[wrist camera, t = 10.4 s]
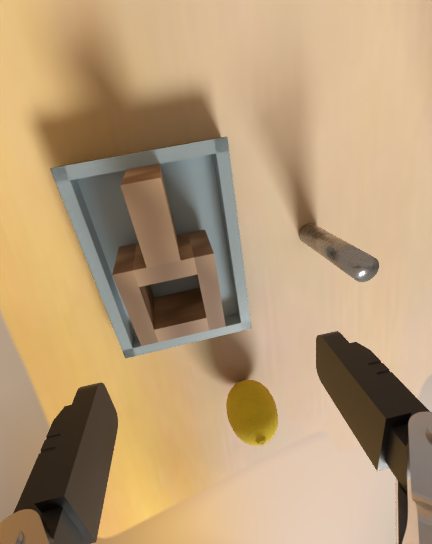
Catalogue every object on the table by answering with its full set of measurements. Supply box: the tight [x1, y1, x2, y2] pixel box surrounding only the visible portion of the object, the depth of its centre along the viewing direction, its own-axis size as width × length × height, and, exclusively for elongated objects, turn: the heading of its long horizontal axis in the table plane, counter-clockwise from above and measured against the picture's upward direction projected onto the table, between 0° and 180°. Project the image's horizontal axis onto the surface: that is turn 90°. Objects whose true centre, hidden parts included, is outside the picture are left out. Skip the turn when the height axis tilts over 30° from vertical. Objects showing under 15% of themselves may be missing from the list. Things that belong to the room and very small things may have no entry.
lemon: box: [226, 380, 278, 445], centre depth 32 cm, size 6×6×8 cm
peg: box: [299, 224, 379, 282], centre depth 24 cm, size 2×2×9 cm
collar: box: [112, 163, 226, 346], centre depth 23 cm, size 8×14×4 cm, turn 8°
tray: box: [50, 137, 252, 358], centre depth 26 cm, size 13×18×2 cm
